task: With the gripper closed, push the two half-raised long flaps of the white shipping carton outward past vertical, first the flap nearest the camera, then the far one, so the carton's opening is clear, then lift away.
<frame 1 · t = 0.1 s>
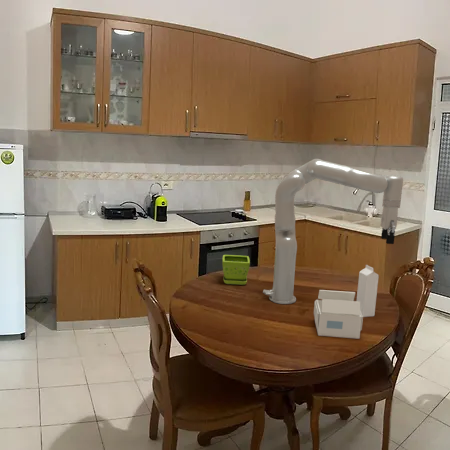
hand: (387, 241, 221), 31 cm above the table, tool pointing down, fingers open, 9 cm apart
flower pot: (234, 282, 255), on the table
carton: (336, 328, 200), on the table
milk: (364, 314, 218), on the table
flap near: (340, 306, 191), point 12 cm above the table, hinge at 60.0°
flap far: (336, 295, 204), point 12 cm above the table, hinge at 60.0°
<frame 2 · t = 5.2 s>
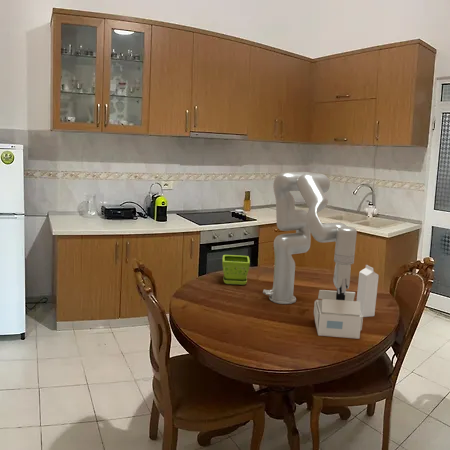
hand: (340, 303, 194), 12 cm above the table, tool pointing down, fingers closed
flap near: (340, 306, 191), point 12 cm above the table, hinge at 60.2°, touching gripper
everything else where it was.
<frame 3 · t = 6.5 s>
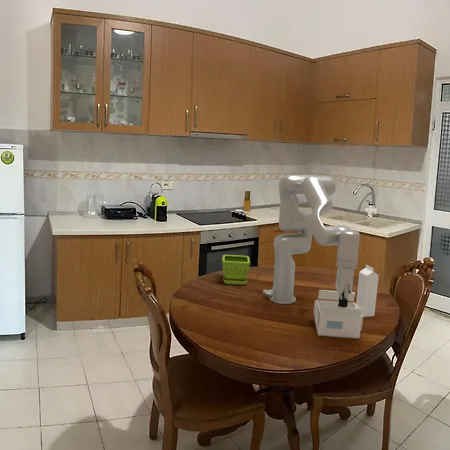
hand: (342, 308, 188), 13 cm above the table, tool pointing down, fingers closed
flap near: (342, 311, 188), point 11 cm above the table, hinge at 123.5°, touching gripper
everything else where it was.
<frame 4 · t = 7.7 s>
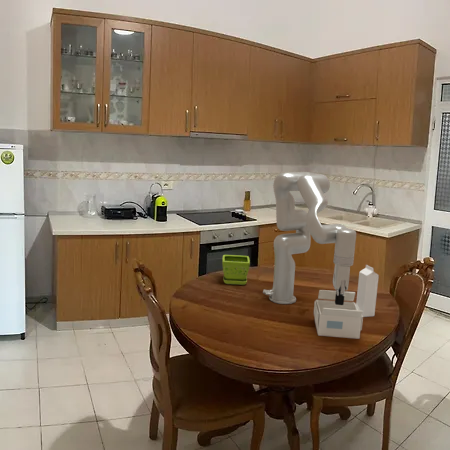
hand: (339, 304, 195), 12 cm above the table, tool pointing down, fingers closed
flap near: (342, 312, 188), point 11 cm above the table, hinge at 132.8°
everything else where it was.
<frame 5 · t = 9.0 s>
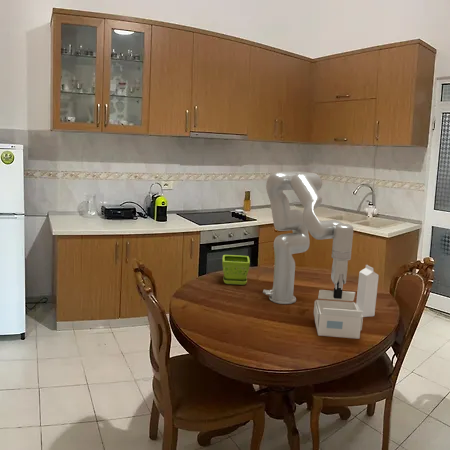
hand: (337, 297, 201), 12 cm above the table, tool pointing down, fingers closed
flap near: (342, 312, 188), point 11 cm above the table, hinge at 133.2°
flap far: (336, 295, 204), point 12 cm above the table, hinge at 60.4°, touching gripper
everything else where it was.
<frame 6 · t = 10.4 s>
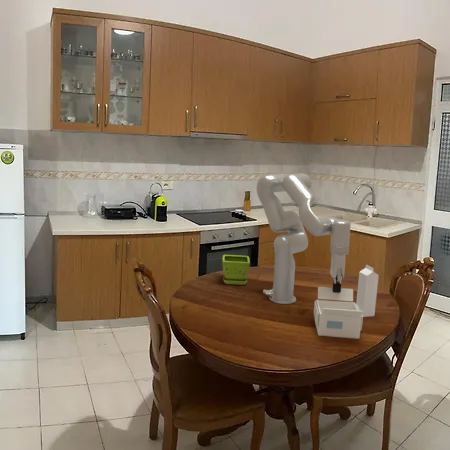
hand: (336, 291, 207), 13 cm above the table, tool pointing down, fingers closed
flap far: (335, 293, 207), point 12 cm above the table, hinge at 119.5°, touching gripper
everything else where it was.
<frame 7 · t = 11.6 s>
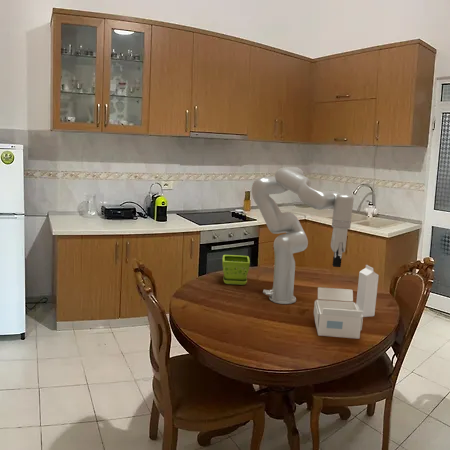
hand: (336, 266, 206), 23 cm above the table, tool pointing down, fingers closed
flap far: (335, 294, 208), point 11 cm above the table, hinge at 129.0°
everything else where it was.
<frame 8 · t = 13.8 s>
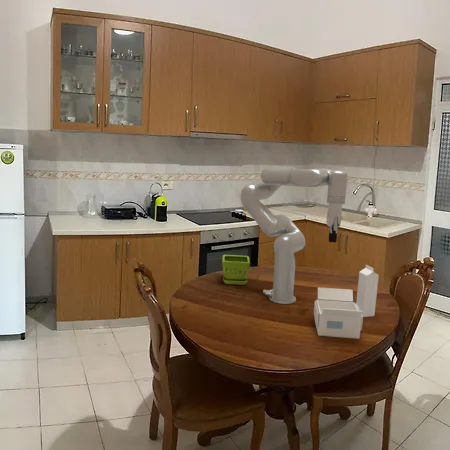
hand: (332, 241, 211), 32 cm above the table, tool pointing down, fingers closed
flap far: (335, 294, 208), point 11 cm above the table, hinge at 129.5°
everything else where it was.
at the end: flap near at +133° (first picture: +60°); flap far at +130° (first picture: +60°) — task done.
